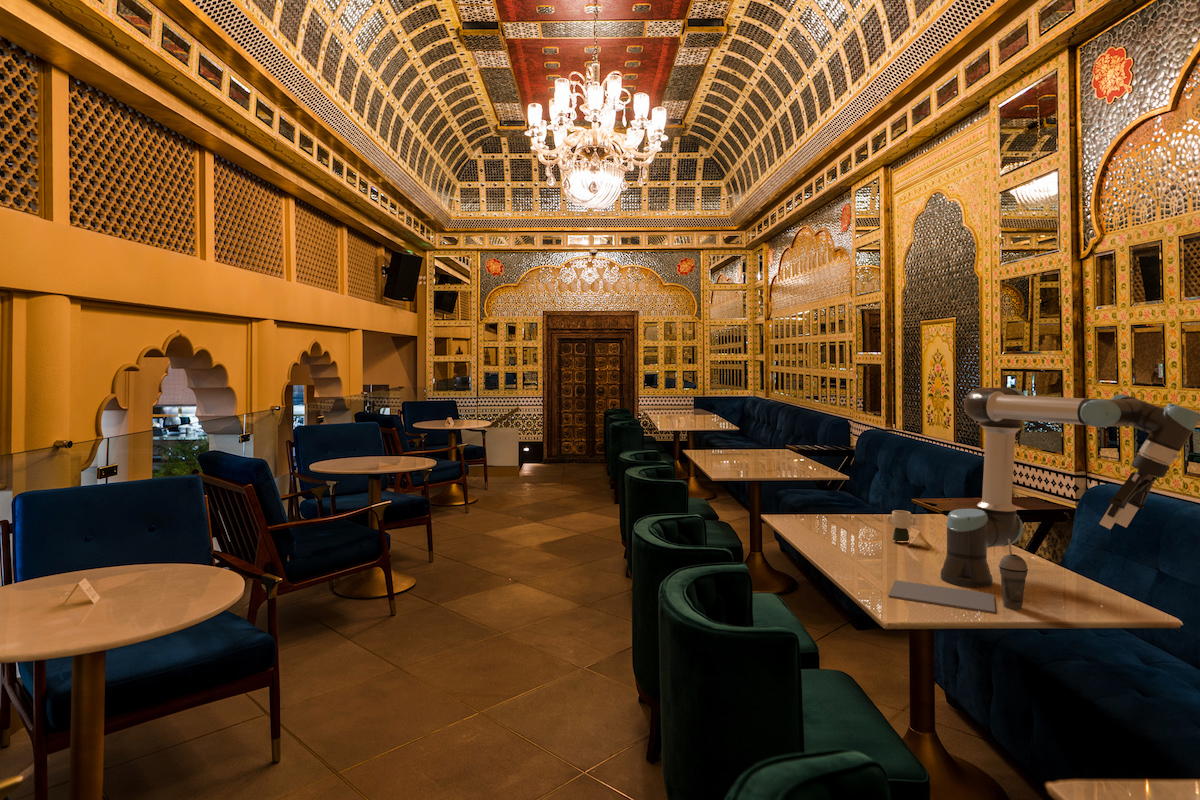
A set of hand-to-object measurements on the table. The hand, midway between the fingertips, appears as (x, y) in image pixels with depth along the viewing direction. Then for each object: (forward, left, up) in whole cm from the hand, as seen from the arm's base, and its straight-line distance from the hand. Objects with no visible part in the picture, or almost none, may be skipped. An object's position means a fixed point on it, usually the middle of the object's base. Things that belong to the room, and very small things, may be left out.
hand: (1112, 525), depth 181 cm
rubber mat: (-26, -34, -26) cm, 50 cm away
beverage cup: (-13, -21, -26) cm, 36 cm away
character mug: (-88, +3, -26) cm, 91 cm away
